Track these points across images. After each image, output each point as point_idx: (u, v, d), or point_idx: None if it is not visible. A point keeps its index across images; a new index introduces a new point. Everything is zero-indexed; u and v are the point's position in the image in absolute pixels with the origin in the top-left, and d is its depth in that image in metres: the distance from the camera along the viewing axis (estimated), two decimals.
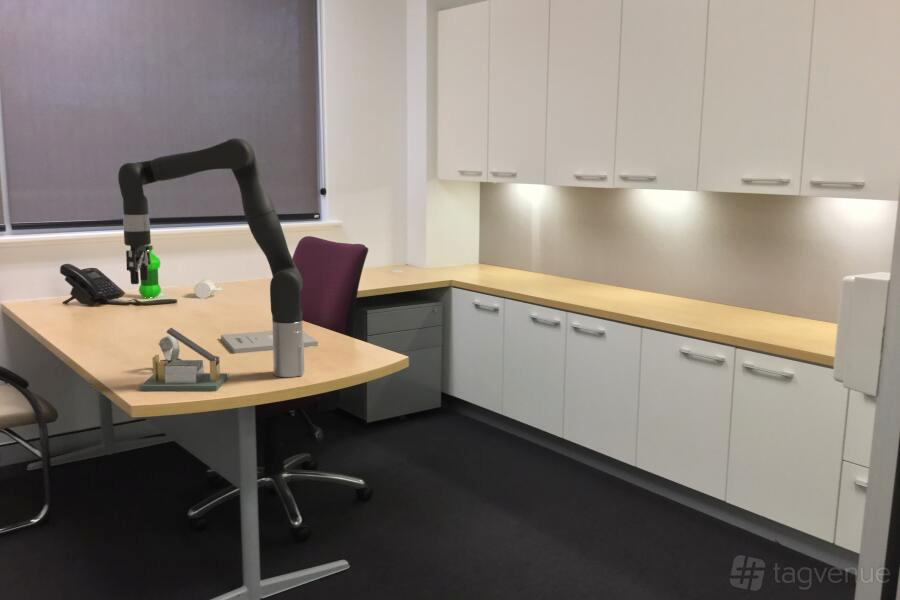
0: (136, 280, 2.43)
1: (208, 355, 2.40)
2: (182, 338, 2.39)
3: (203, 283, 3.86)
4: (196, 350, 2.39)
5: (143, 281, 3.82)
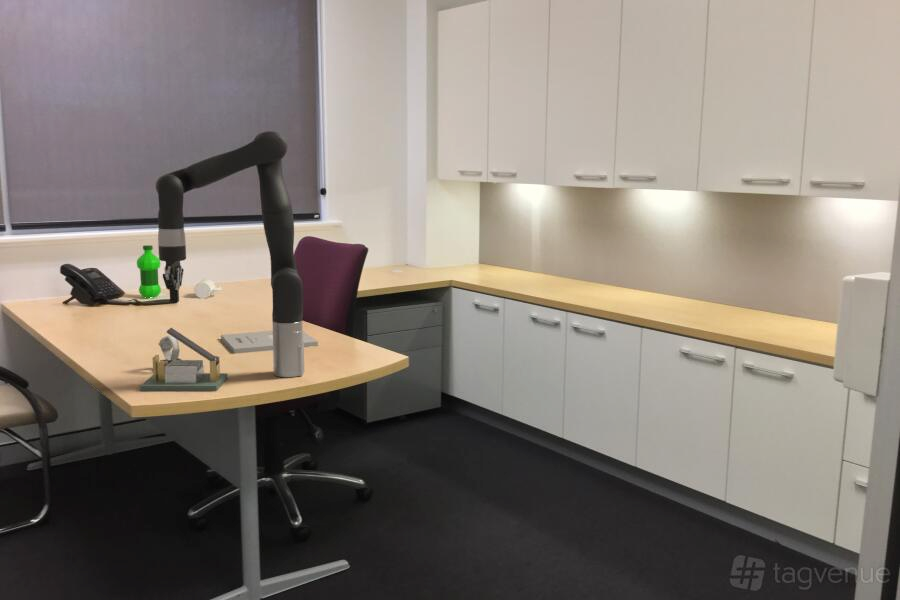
0: (175, 299, 2.36)
1: (208, 355, 2.40)
2: (182, 338, 2.39)
3: (203, 283, 3.86)
4: (196, 350, 2.39)
5: (143, 281, 3.82)
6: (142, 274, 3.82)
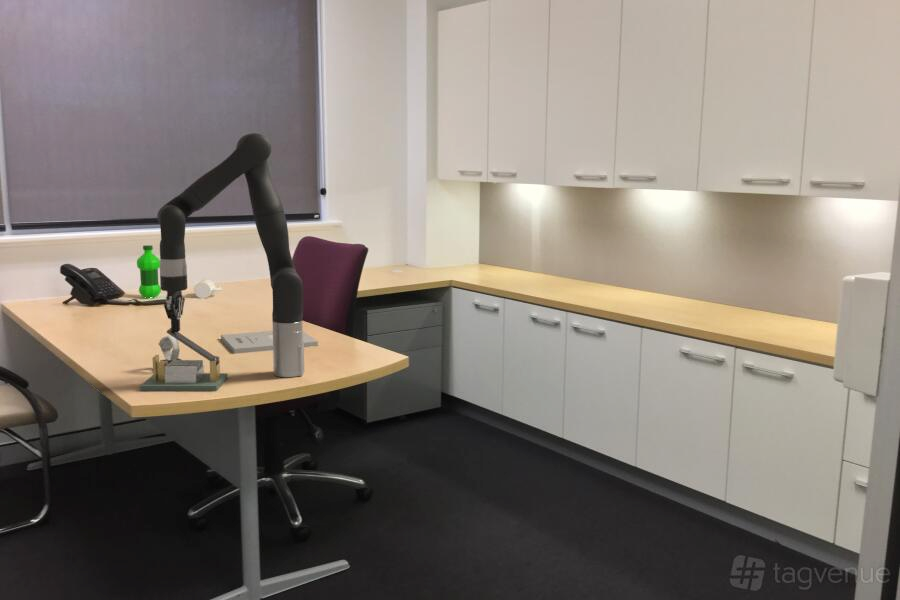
0: (177, 328, 2.38)
1: (208, 355, 2.40)
2: (182, 338, 2.39)
3: (203, 283, 3.86)
4: (196, 350, 2.39)
5: (143, 281, 3.82)
6: (142, 274, 3.82)
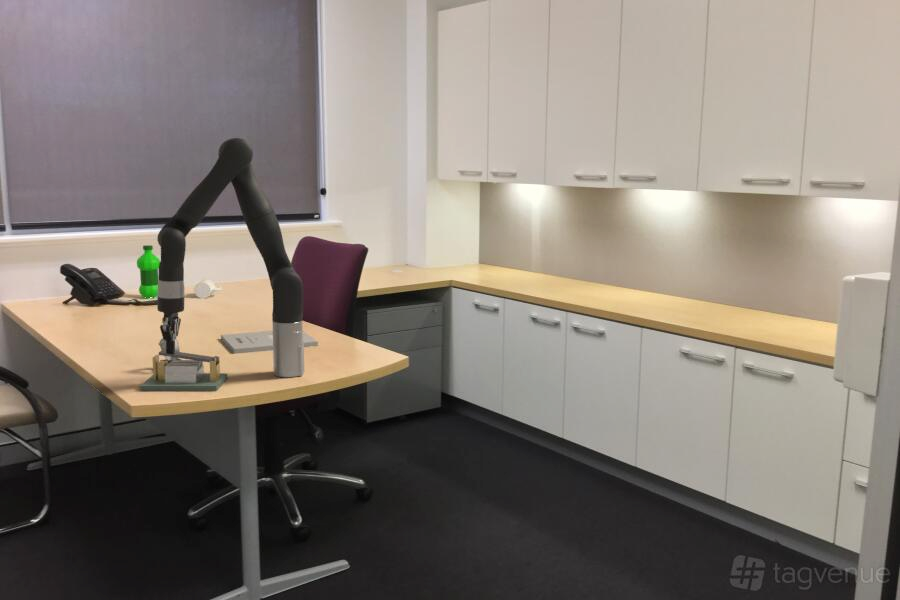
0: (171, 349, 2.39)
1: (206, 358, 2.40)
2: (176, 353, 2.40)
3: (203, 283, 3.86)
4: (193, 358, 2.39)
5: (143, 281, 3.82)
6: (142, 274, 3.82)
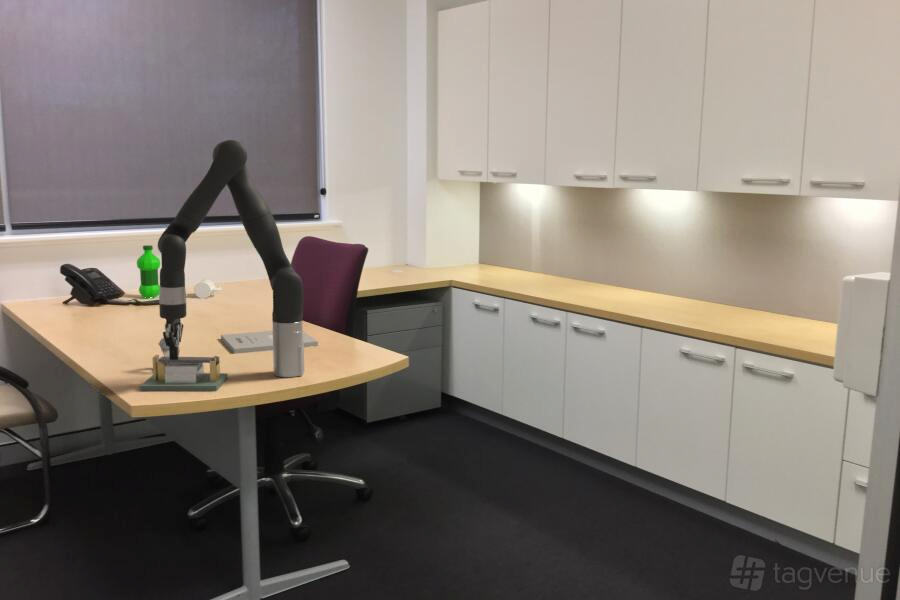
0: (175, 355, 2.39)
1: (206, 359, 2.40)
2: None
3: (203, 283, 3.86)
4: (193, 361, 2.39)
5: (143, 281, 3.82)
6: (142, 274, 3.82)
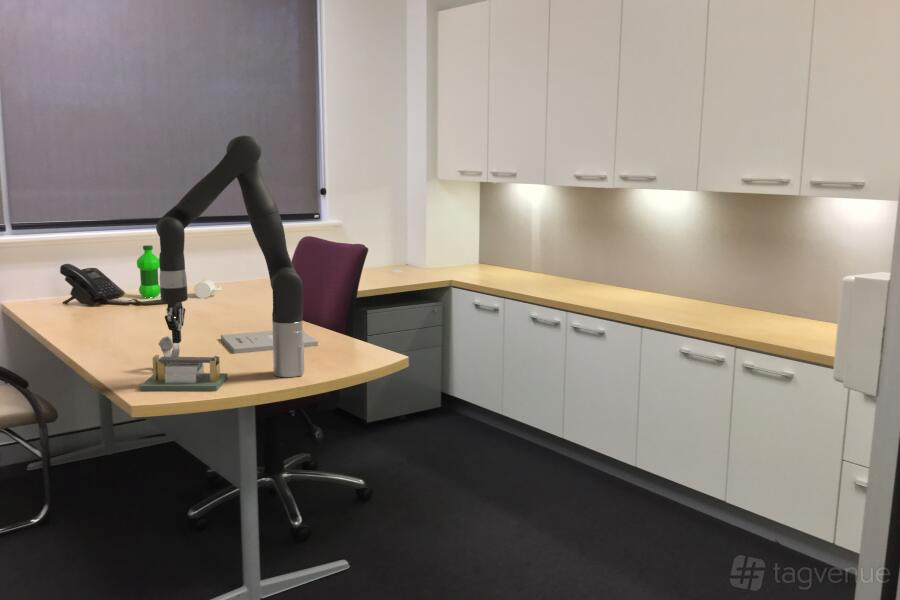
0: (178, 339, 2.39)
1: (206, 359, 2.40)
2: (175, 358, 2.40)
3: (203, 283, 3.86)
4: (193, 361, 2.39)
5: (143, 281, 3.82)
6: (142, 274, 3.82)
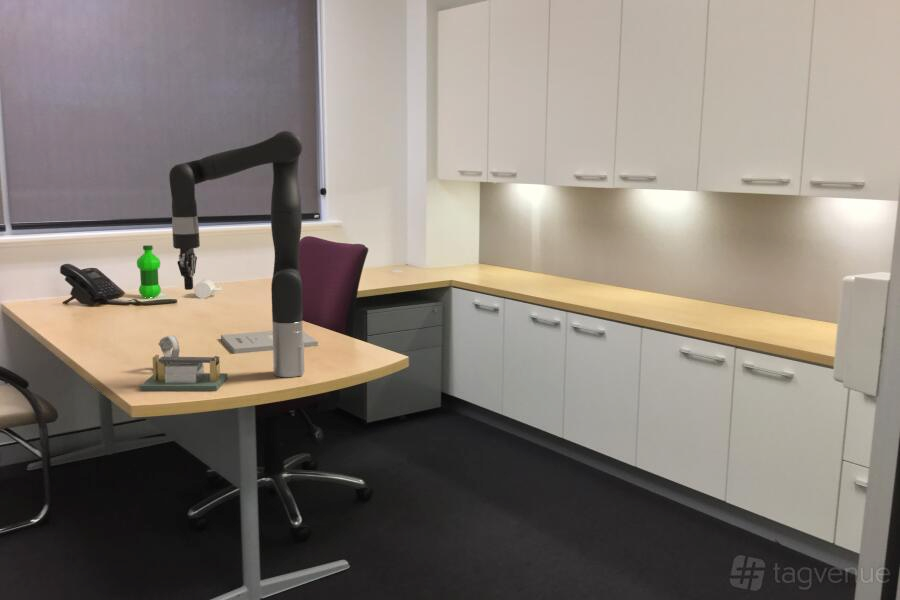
0: (190, 286, 2.42)
1: (206, 359, 2.40)
2: (175, 358, 2.40)
3: (203, 283, 3.86)
4: (193, 361, 2.39)
5: (143, 281, 3.82)
6: (142, 274, 3.82)
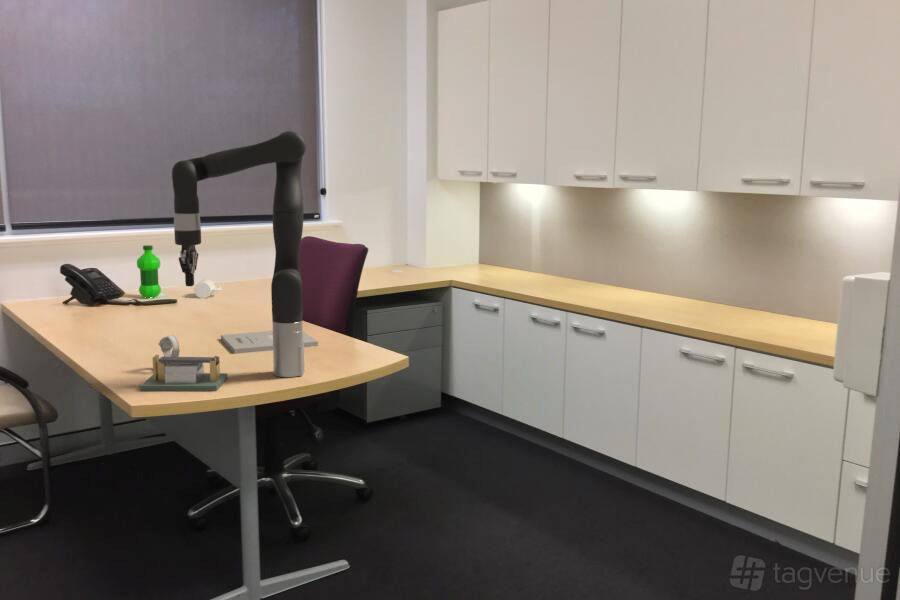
0: (191, 282, 2.42)
1: (206, 359, 2.40)
2: (175, 358, 2.40)
3: (203, 283, 3.86)
4: (193, 361, 2.39)
5: (143, 281, 3.82)
6: (142, 274, 3.82)
